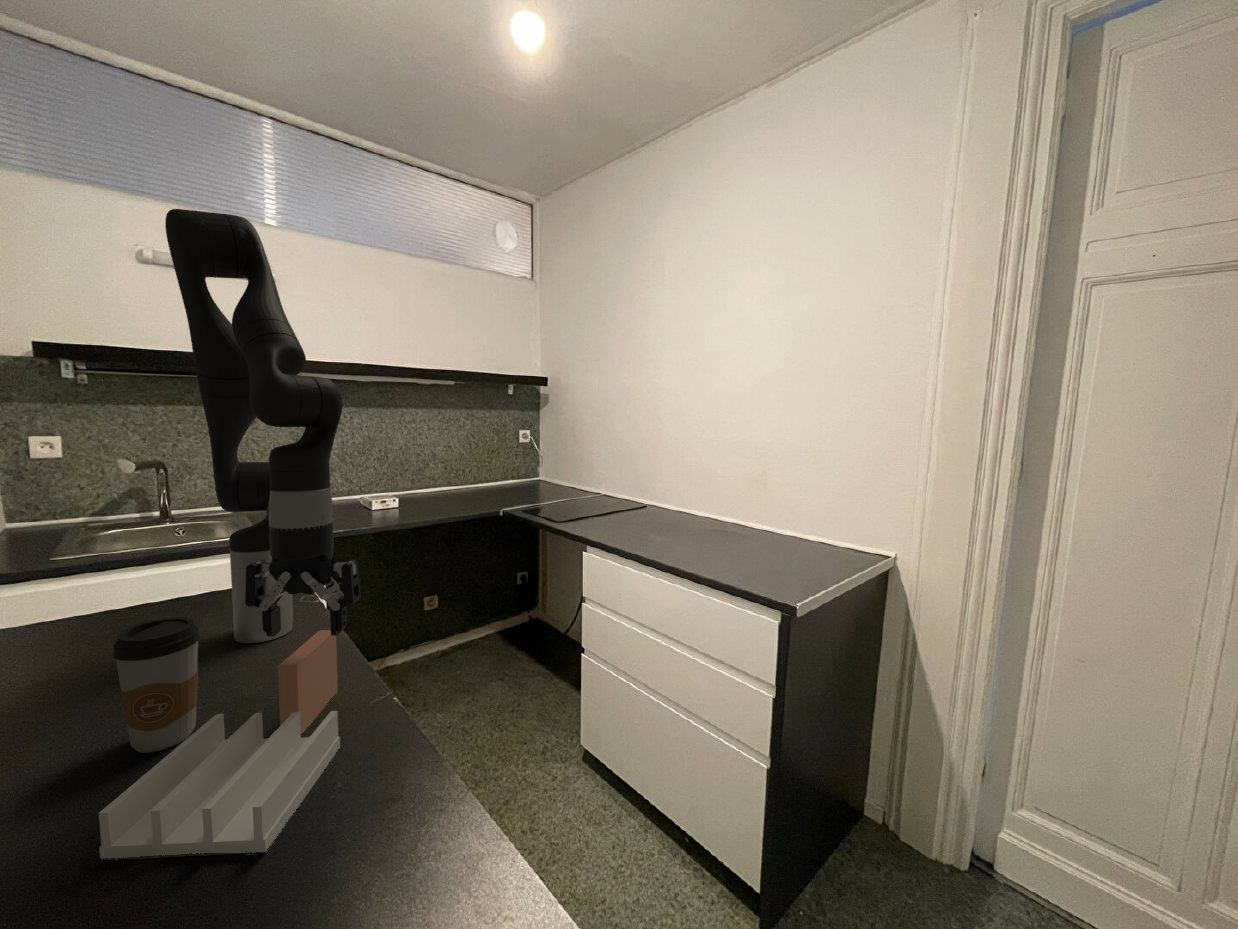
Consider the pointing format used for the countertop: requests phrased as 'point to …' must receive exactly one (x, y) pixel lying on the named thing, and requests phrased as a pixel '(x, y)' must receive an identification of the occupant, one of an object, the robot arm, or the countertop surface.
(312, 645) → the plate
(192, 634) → the coffee cup
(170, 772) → the dish rack
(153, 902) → the countertop surface
